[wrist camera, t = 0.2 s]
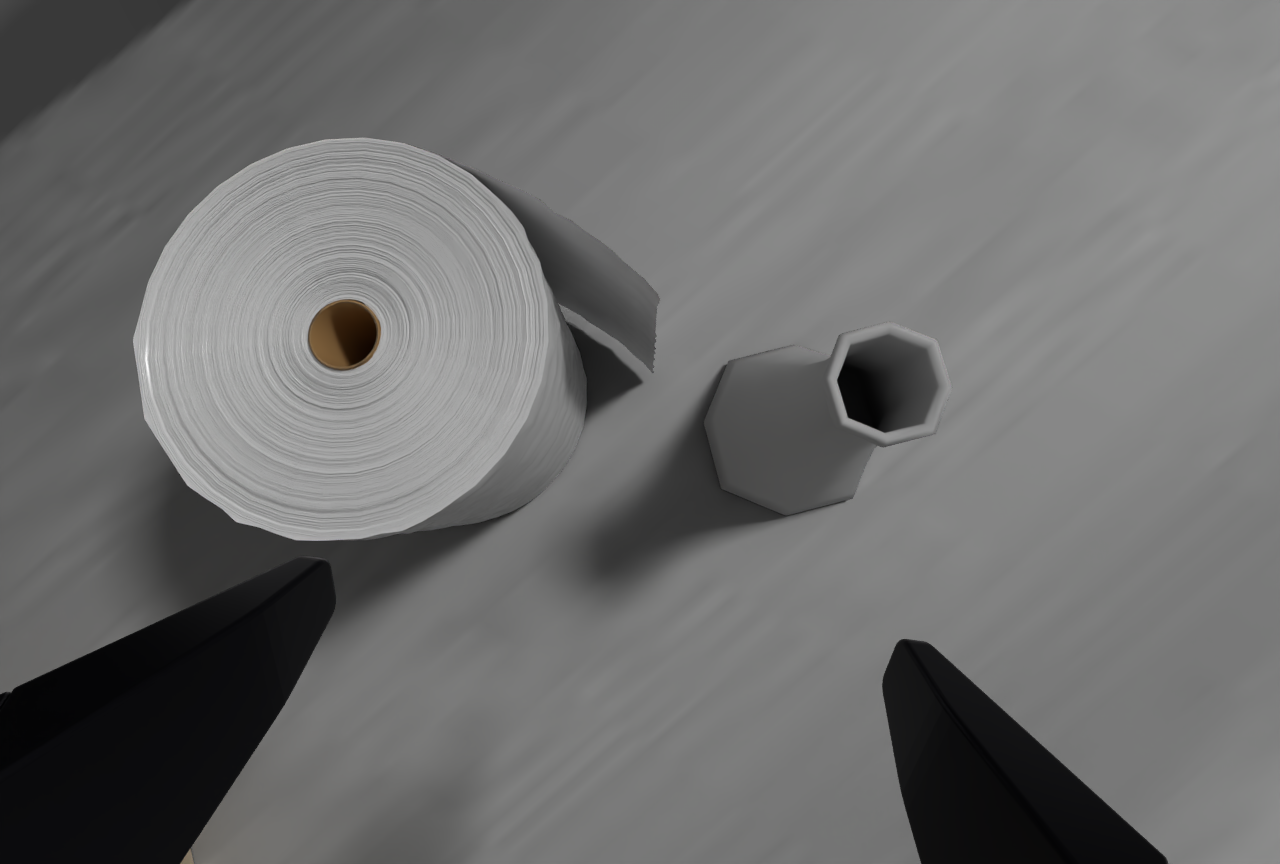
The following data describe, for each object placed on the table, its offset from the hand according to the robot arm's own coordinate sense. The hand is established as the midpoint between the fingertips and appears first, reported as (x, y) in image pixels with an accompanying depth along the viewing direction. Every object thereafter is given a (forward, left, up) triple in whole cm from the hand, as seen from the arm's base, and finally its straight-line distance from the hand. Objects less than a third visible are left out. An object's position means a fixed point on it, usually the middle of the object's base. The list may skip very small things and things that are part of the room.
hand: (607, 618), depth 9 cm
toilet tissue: (+8, +4, -15) cm, 18 cm away
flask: (+2, -8, -15) cm, 17 cm away
